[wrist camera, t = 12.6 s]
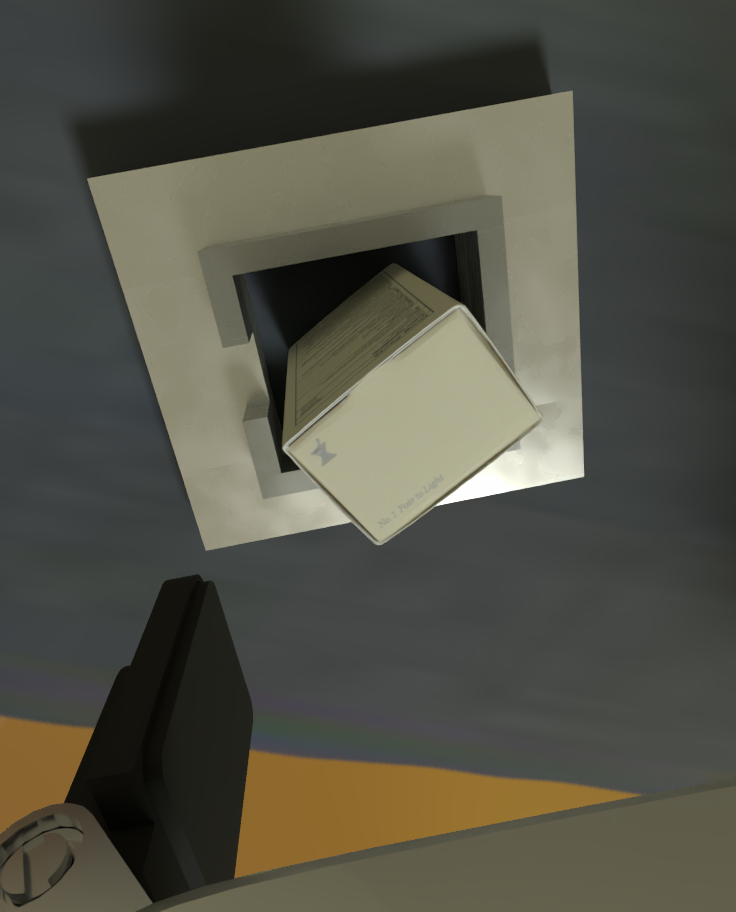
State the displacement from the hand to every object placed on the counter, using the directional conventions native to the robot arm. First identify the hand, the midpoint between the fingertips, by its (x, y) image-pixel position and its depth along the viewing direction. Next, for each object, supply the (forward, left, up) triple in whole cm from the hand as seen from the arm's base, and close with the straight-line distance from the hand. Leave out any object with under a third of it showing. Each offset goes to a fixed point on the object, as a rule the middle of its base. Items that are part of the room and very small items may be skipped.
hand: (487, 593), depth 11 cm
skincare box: (0, 0, -19) cm, 19 cm away
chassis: (0, 0, -19) cm, 19 cm away
